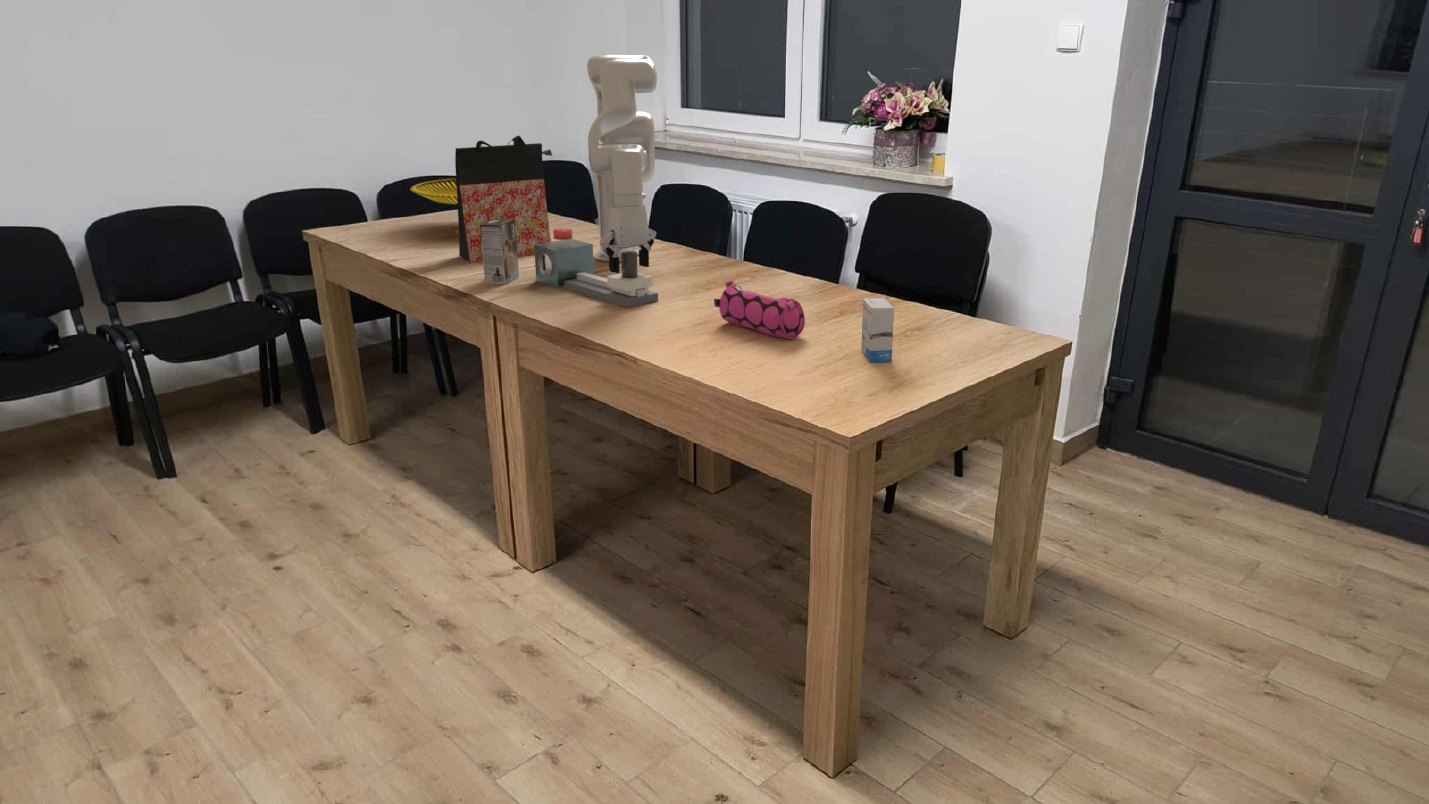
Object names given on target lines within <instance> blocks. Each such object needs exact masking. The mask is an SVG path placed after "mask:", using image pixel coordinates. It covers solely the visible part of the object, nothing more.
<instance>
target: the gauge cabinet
mask: <svg viewBox="0 0 1429 804" xmlns="http://www.w3.org/2000/svg"><path fill="white" fill-rule="evenodd" d="M593 245H594V244H593V243H590V242H585V241H582V240H577V239H573V238H572V239H567V240H553V241H551V242H548V243H542V244H536V245H534V252H535V255H534V265H535V266H534V267H535V280H536V282H537V283H540V284H543V285H547V286H551V287H553V288H557V289H561V288H565V285H564V281H567V280H572V279H577V273H582V272H586V273H589V274H593V275H595V269H594V266H595V265H594V246H593Z"/></svg>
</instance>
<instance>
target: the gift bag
mask: <svg viewBox="0 0 1429 804" xmlns="http://www.w3.org/2000/svg"><path fill="white" fill-rule="evenodd" d="M511 141H512V142H513V144H510V143H511ZM482 145H485V146H482ZM454 155H455V158H454V161H455V162H454V165H455V179H456V182H455V185H456V187H457V203H458V204H457V217H458V218H457V219H458V221H457V223H458V229H459V234H458V254H459V257H460V258H461V259H464V261H465V260H466V261H467V262H468V261H469V263H471V262H472V263H479V261H481V262H483V255H482V243H481V232H480V224H483V223H485V222H487V221H489V220H492V219H515V231H516V244H517V258H520V257H527V256H530V257H531V256H535V252H534V245H536V244H542V243H548V242H552V239H551V232H550V222H549V217H548V207H547V205H548V204H547V197H546V195H547V194H546V187H545V176H544V174H545V173H544V166H543V165H544V164H543V155H545V156H552V157H553V153H552V150H551V149H546V150H543V144H542V143H541V142H539V143H536V142H535V143H525V141H524V140H523V138H522V137H521V135H517V136H514V137H513V138H512V139H511V140H510V141H509V142H507V144H506V145H503V144H502V145H491V144H489V143H487V142H485V141H483V140H478V141H476V144H475V146H474V147H473V146H471V147H458V148H457V147H456V148H455V153H454Z"/></svg>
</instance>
